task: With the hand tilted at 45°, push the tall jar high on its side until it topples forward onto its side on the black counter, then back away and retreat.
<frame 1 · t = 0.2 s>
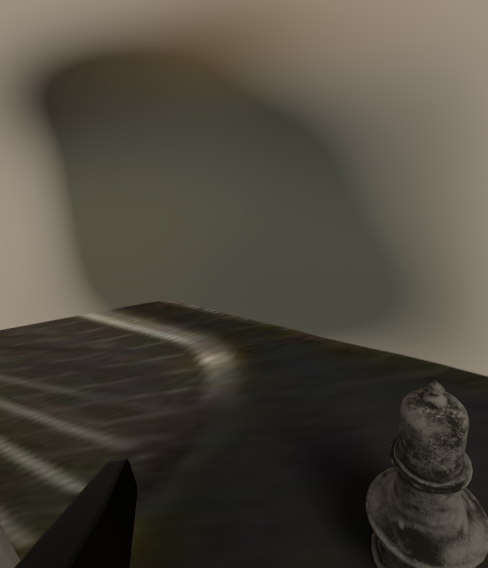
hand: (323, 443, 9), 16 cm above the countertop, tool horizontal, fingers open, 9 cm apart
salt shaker: (420, 557, 22), on the countertop
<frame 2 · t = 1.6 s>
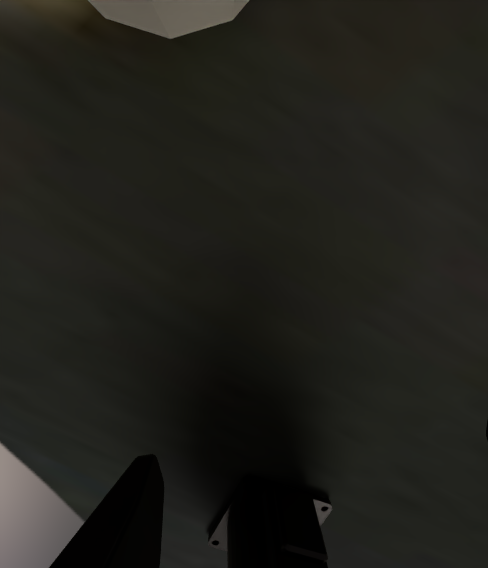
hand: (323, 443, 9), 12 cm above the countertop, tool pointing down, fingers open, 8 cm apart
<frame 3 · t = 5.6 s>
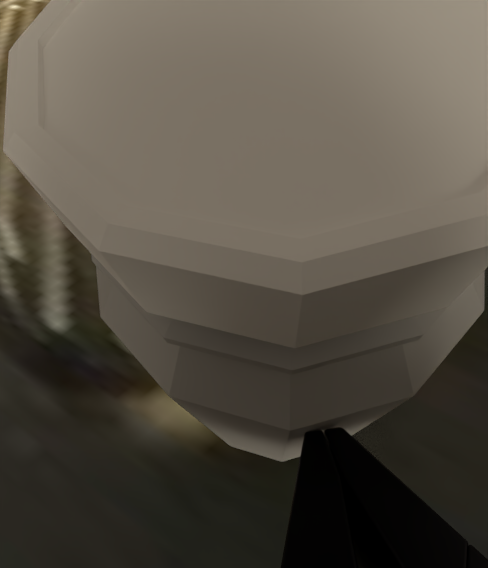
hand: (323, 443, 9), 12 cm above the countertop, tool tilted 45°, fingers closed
jar: (278, 366, 22), on the countertop
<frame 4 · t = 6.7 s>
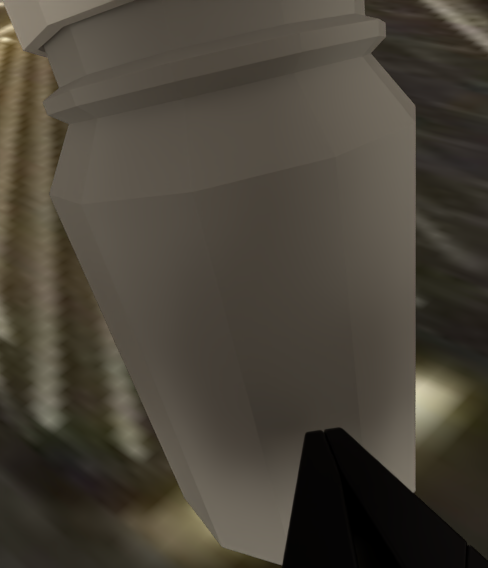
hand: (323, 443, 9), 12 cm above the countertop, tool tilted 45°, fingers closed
jar: (297, 459, 17), point 3 cm above the countertop
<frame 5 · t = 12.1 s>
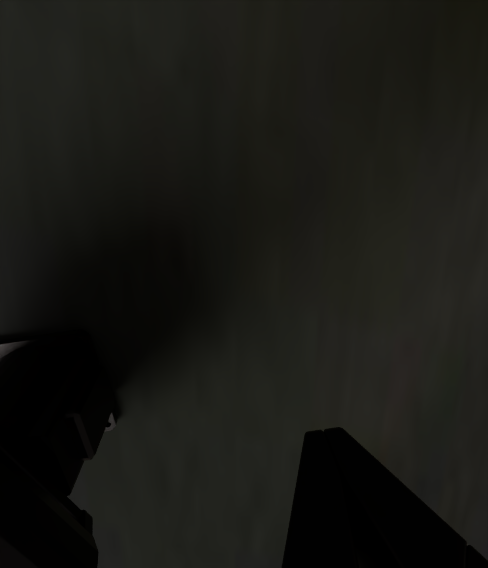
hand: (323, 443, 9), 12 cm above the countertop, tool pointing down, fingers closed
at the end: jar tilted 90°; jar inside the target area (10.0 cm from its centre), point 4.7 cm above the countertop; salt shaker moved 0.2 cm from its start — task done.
